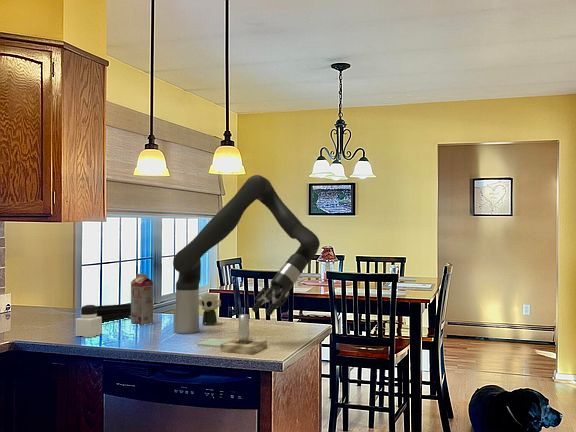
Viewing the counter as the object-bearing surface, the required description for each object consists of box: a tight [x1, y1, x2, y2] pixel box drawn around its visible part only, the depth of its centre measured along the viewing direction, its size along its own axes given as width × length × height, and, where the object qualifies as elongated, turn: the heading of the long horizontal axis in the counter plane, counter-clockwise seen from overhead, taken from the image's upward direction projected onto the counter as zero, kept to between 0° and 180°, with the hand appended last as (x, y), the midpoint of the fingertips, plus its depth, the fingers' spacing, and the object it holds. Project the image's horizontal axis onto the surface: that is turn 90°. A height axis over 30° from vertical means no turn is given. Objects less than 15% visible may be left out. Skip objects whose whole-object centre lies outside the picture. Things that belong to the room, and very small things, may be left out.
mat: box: [196, 338, 231, 348], centre depth 212 cm, size 10×10×1 cm
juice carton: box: [130, 273, 154, 325], centre depth 253 cm, size 7×7×22 cm
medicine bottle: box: [75, 304, 103, 338], centre depth 228 cm, size 7×7×12 cm
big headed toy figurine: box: [199, 293, 222, 325], centre depth 252 cm, size 11×7×13 cm, turn 66°
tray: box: [96, 303, 131, 323], centre depth 268 cm, size 30×23×5 cm
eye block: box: [220, 337, 268, 355], centre depth 202 cm, size 12×12×2 cm
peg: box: [238, 313, 250, 344], centre depth 202 cm, size 4×4×12 cm
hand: (260, 312), depth 207 cm, fingers open, 8 cm apart
